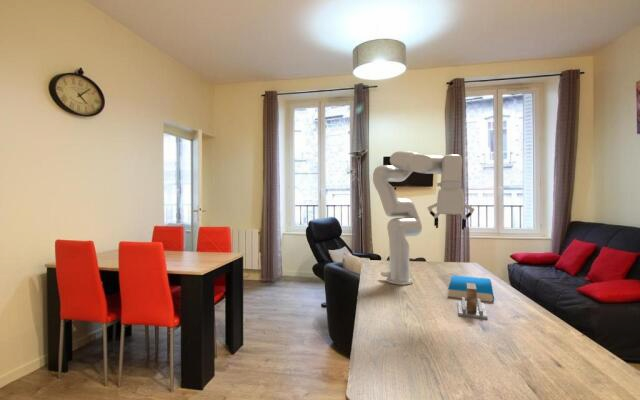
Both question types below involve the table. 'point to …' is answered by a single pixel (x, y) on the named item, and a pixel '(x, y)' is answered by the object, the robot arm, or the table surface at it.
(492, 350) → the table surface
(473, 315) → the floor track
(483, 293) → the book
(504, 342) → the table surface
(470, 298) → the door panel
